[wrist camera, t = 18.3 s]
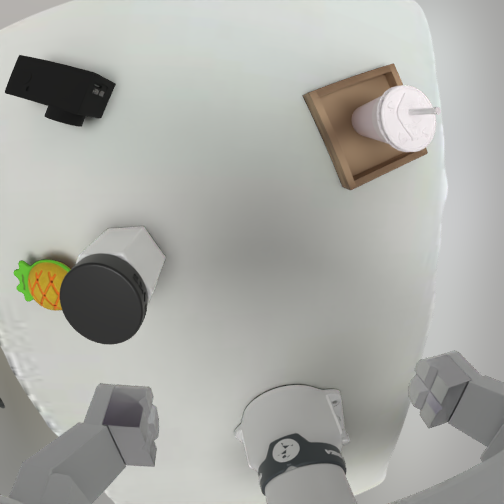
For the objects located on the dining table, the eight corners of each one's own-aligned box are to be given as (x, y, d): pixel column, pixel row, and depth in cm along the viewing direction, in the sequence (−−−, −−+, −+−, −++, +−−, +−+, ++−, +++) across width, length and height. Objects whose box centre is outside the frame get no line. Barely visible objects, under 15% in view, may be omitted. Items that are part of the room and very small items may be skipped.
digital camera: (30, 106, 29) (-1, 103, 22) (47, 65, 28) (18, 54, 21) (97, 128, 31) (72, 126, 25) (116, 84, 30) (94, 72, 23)
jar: (146, 302, 39) (126, 361, 27) (89, 274, 37) (50, 324, 25) (175, 241, 37) (159, 286, 25) (113, 210, 35) (72, 242, 23)
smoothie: (381, 91, 33) (457, 77, 19) (393, 142, 35) (471, 150, 22) (334, 99, 32) (399, 81, 19) (348, 153, 35) (417, 163, 22)
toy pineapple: (89, 304, 38) (75, 325, 33) (28, 295, 37) (10, 313, 32) (85, 254, 36) (69, 271, 31) (22, 248, 34) (1, 262, 29)
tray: (416, 151, 36) (427, 153, 34) (342, 186, 37) (350, 190, 34) (383, 67, 32) (393, 63, 30) (302, 95, 33) (308, 92, 30)
